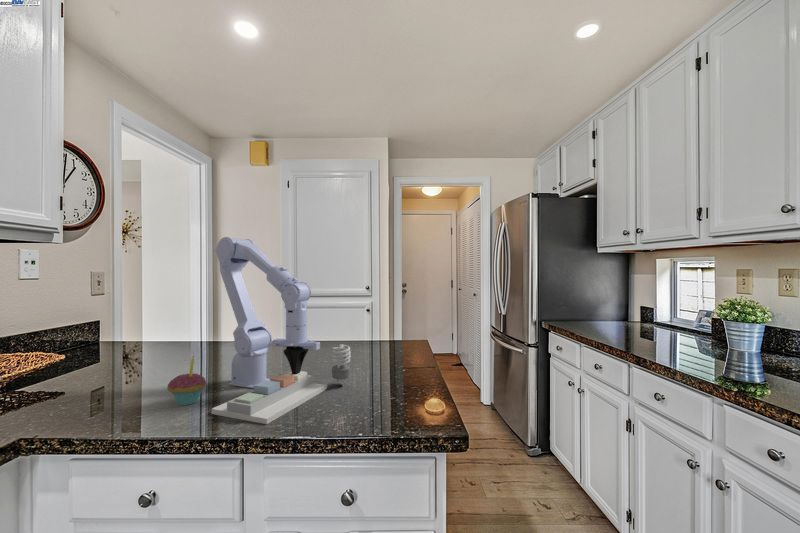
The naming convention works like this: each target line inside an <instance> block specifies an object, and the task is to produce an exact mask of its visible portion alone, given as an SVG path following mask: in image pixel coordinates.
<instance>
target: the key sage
mask: <svg viewBox="0 0 800 533" xmlns="http://www.w3.org/2000/svg"><path fill="white" fill-rule="evenodd" d="M244 394H245V395H244ZM244 394H243V395H240V397H239V396H238V398H237V397H235V398H234V399H235V402H240V403H246V404H252V403H254V402H256V401H258V400H260V399H262V398H264V395H261V394H255V393H249V392H247V394H246V393H244Z"/></svg>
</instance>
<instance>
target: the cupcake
mask: <svg viewBox="0 0 800 533" xmlns="http://www.w3.org/2000/svg"><path fill="white" fill-rule="evenodd" d="M194 363H195V356H194V355H193V356H192V358H191V359H190V367H189V373H185V374H179V375H178V376H175V377H174V378H172V379H171V380H170V381H169V382H168V384H167V388H166V389H167V390H168V391H167V392H169V393H171V394H172V395H173V396H174V399H175V402H176V404H177V406H188V404H190V405H193V404H196V403H197V402H199V399H200V397H201V393H202V392H203V390H204V388H205V386H206V385H207V380H206V378H205V377H204V376H203V375H201V374H198V373H193V372H194ZM195 402H196V403H195ZM192 403H193V404H192Z"/></svg>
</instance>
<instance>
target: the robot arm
mask: <svg viewBox="0 0 800 533" xmlns="http://www.w3.org/2000/svg"><path fill="white" fill-rule="evenodd" d="M214 251H215V253H216V257H217V260H218V262H219V271H220V275H221V278H222V281H223V284H224V287H225V291H226V293H227V296H228V299H229V302H230V306H231V308H232V311H233V314H234V316H235V320H236V322H237V326H236V327H235V329H234V331H233V333H232V335H233V337H234V338H233V341H234V342H233V343H234V344H233V346H234V349H235V351H236V352H237V353H236V354H234V356H233V357H232V361H231V380H230V381H231V382H229V384H228V385H229V386H236V387H240V388H241V387H242V388H249V389H254V385H256V384H258V383H260V382H263V381H265V380H268V381H270V378H267V352H269V348H270V346H271V345H272V347H283V348H285V349H283V354H284V356H285V357H286V359H287V361H288V364H289V367H290V372H292V374H298V373H300V371H302V366H303V362H304V359H305V358H306V356H307V354H308V352H309V350H313V351H318V350H320V349H321V342H320V341H314V340H309V339H307V336H308V334H307V333H308V332H307V329H308V328H307V327H308V326H307V325H308V324H307V322H308V321H307V320H308V317H307V316H308V314H307V310H308V309H307V308H308V302H307V301H309V300H310V298H311V294H312V293H311V292H312V291H311V287H310V286H309V285H308V283H307V282H304V281H303V282H302V281H299V279H298V278H297V277H294V276H293V275H292V274H291V273H290V272H289V271H288V268H287V267H286V266H281V265H275V264H274V263H273V262H272V261H271V260H270V259H269V258H268V256H266V255H265V254H264V253H263V252H262V251H261V250H260V249H259V246H258V244H257V243H254V241H253V240H252V239H249V238H247V239H246V238H245V239H244V238H235V237H229V236H224V237H221V239H220V240H219V241H218V243H217V245H216V248H215V250H214ZM250 262H251V264H253V265H254V266H255V267H257V268H258V269H259V270H261V272H263V273H264V274H265V275H266V280H267V282H268V283H269V284H270V285H271V286H272V287H273V288H274V289H276V290H277V291H278V292H279V293H280V297H281V300H282V301H283V304H284V309H285V338H275V339H273V336H272V334H271V332H270V331H269V329H268V328H267V327H266V323H264V322H263V321H262V320H259V319H258V317H257V314H256V312H255V309H254V305H253V304H252V300H251V298H250V294H249V292H248V288H247V286H246V283H245V280H244V277H243V275H242V271H243V269H244V268H245V267H246V266H247V265H248V263H250Z"/></svg>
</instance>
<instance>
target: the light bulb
mask: <svg viewBox="0 0 800 533" xmlns="http://www.w3.org/2000/svg"><path fill="white" fill-rule="evenodd" d="M338 346H339V347H338ZM338 346H337V347H335V346H334V347H332V348H331V350H332V351H331V354H332V355H331V361H332V363H338V364H336V365H332V367H331V376H332V378H333V379H334V380H336V383H337V384H338V385H339V386H343V385H344V384H345V383H346V380H347V379H348V378H350V376H351V366H349V365H348V364H349V363H350V362H351V358H352V355H351V354H352V352H351V347H350V345H346V344H342V343H339V345H338Z"/></svg>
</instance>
